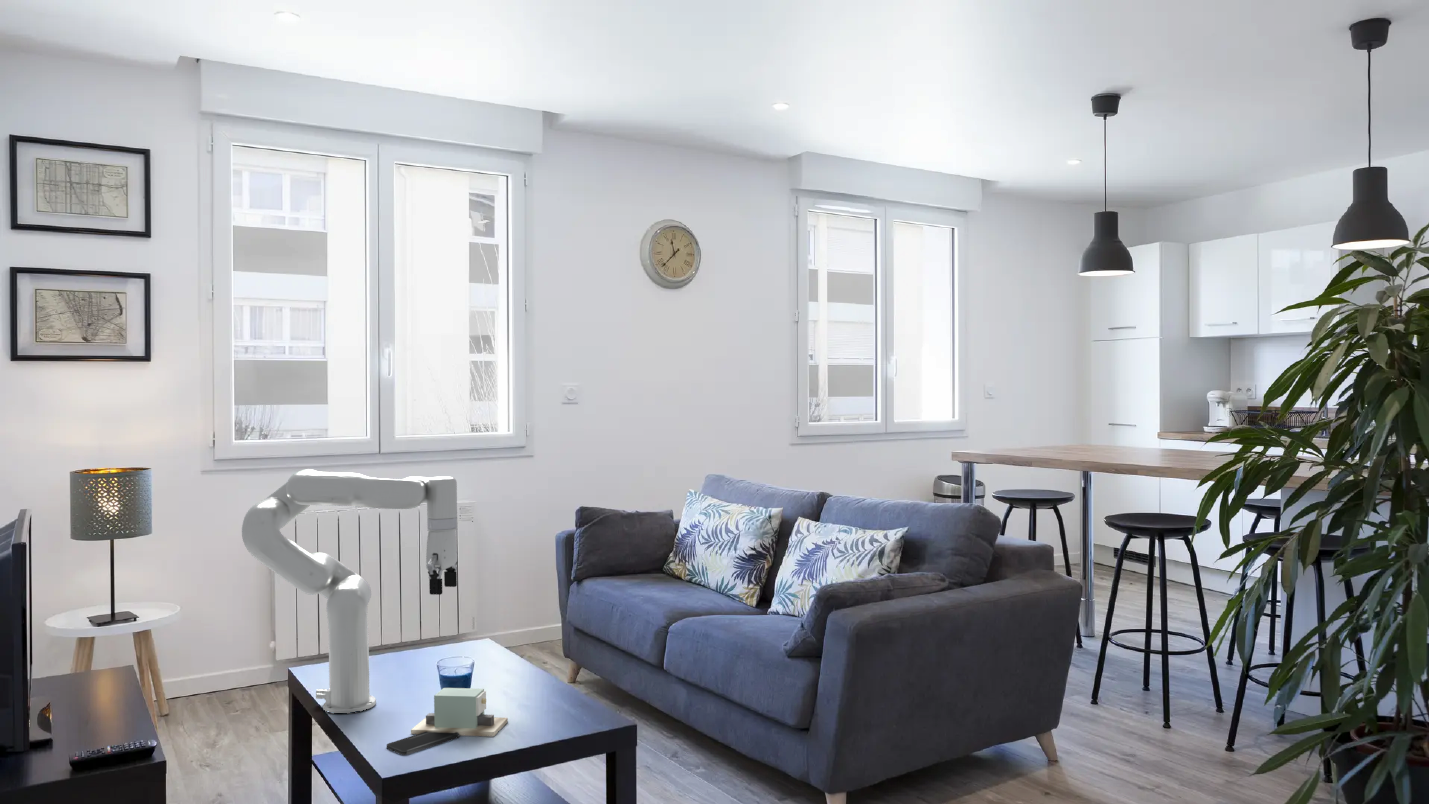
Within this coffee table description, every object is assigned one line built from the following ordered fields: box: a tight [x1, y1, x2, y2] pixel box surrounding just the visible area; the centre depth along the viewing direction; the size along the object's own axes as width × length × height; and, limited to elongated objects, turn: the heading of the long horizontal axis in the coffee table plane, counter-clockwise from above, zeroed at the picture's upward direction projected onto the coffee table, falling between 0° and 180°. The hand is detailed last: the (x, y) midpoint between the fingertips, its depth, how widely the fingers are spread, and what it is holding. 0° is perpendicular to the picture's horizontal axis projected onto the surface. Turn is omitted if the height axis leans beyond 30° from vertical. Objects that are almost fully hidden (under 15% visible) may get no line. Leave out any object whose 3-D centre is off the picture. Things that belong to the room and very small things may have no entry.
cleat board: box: [410, 712, 509, 737], centre depth 237 cm, size 20×10×3 cm, turn 83°
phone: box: [386, 731, 460, 756], centre depth 227 cm, size 8×1×15 cm
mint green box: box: [433, 687, 487, 728], centre depth 237 cm, size 11×6×8 cm, turn 84°
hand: (443, 590), depth 258 cm, fingers open, 9 cm apart
